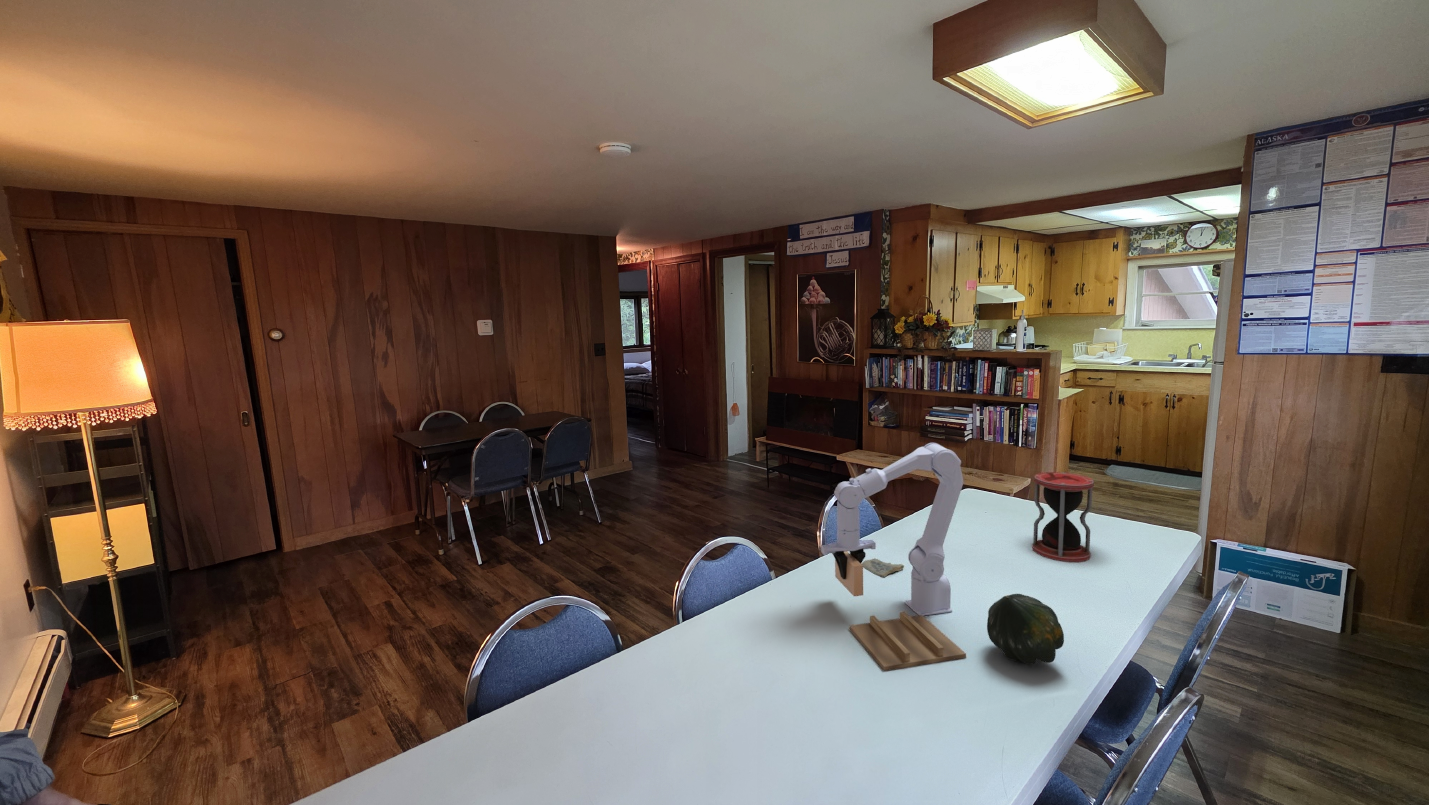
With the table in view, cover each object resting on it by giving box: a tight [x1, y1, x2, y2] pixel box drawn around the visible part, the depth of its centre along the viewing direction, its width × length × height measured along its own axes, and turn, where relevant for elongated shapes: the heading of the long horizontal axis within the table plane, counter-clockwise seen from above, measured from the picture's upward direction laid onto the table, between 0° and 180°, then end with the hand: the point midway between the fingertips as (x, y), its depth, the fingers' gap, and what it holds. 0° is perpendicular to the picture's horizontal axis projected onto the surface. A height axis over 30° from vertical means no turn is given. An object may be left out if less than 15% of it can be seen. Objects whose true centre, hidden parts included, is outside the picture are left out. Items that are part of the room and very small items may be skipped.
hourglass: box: [1031, 471, 1095, 564], centre depth 180 cm, size 16×16×25 cm
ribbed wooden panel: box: [848, 611, 967, 672], centre depth 133 cm, size 20×18×3 cm
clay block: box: [834, 551, 864, 597], centre depth 149 cm, size 2×12×8 cm, turn 11°
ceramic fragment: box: [861, 558, 905, 578], centre depth 174 cm, size 11×3×10 cm
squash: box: [986, 593, 1065, 665], centre depth 125 cm, size 14×15×15 cm
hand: (848, 577), depth 149 cm, fingers closed on clay block, 2 cm apart
